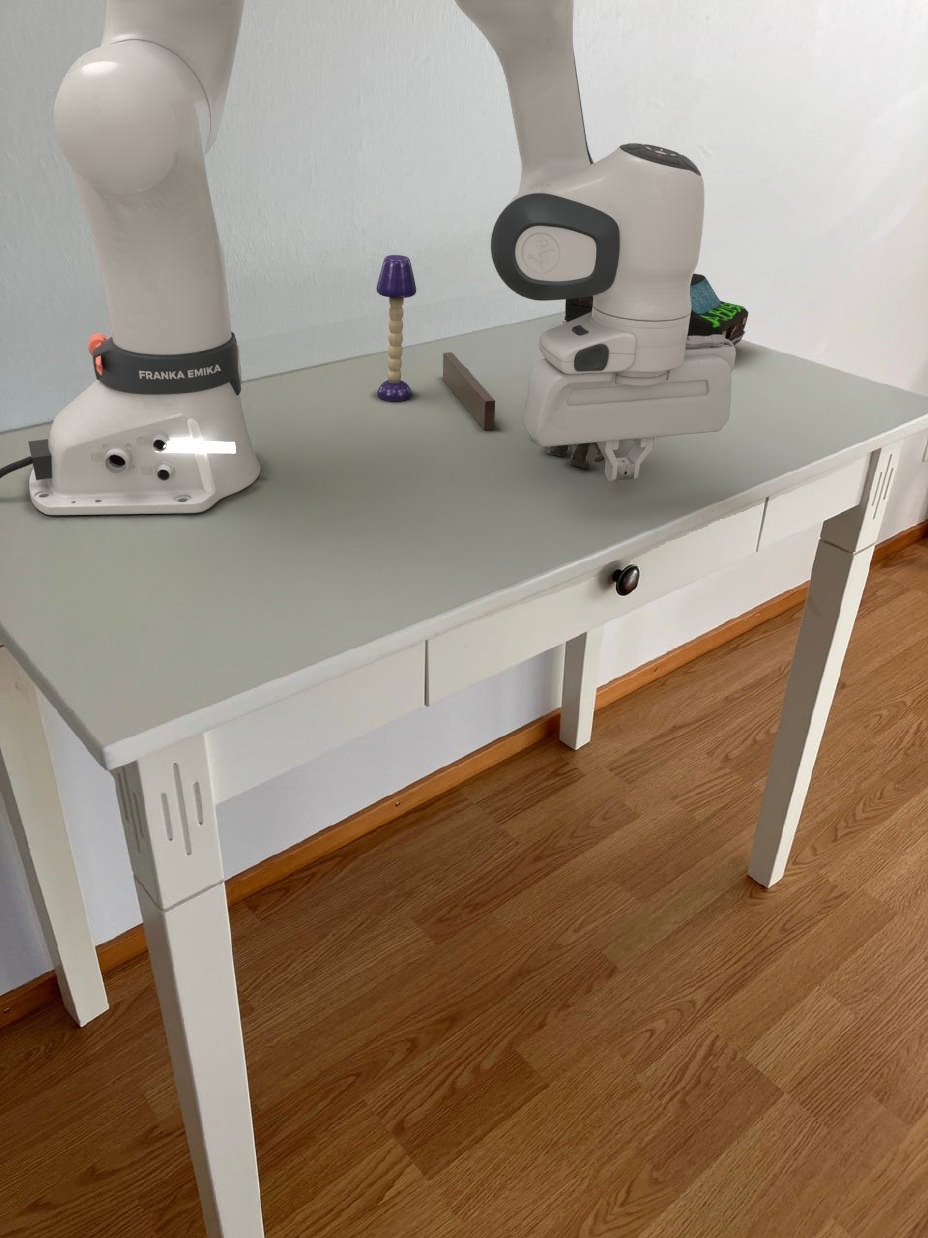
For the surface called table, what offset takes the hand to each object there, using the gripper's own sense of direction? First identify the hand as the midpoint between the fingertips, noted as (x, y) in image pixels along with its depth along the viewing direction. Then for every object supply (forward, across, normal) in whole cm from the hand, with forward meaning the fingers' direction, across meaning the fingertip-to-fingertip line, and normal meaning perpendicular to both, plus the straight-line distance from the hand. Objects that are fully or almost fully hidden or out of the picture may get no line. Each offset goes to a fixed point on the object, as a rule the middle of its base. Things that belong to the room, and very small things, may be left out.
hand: (620, 477), depth 101 cm
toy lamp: (+3, +15, -34) cm, 37 cm away
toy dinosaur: (+3, 0, -13) cm, 13 cm away
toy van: (+3, -26, -48) cm, 55 cm away
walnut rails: (+3, 0, -30) cm, 30 cm away
